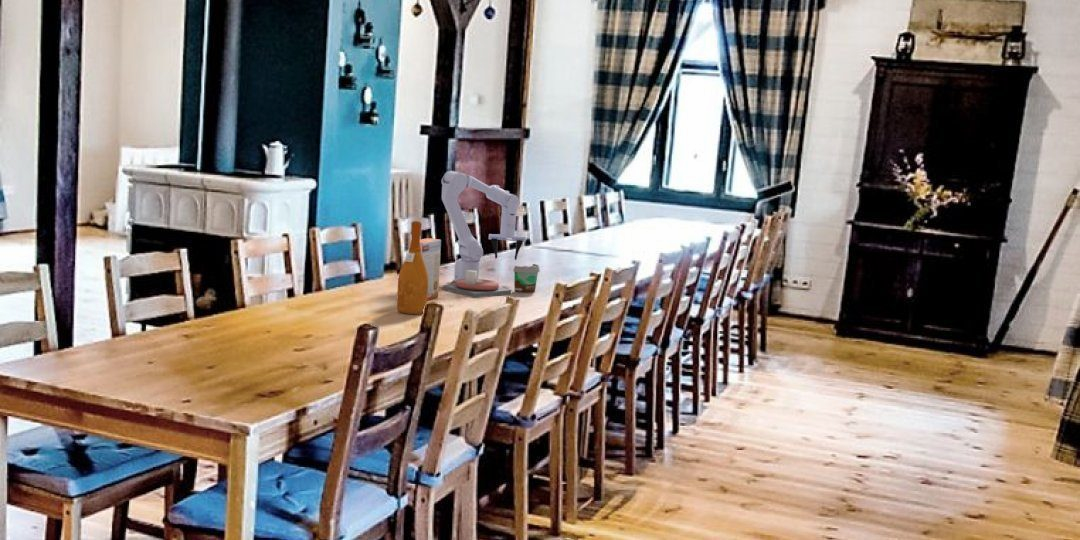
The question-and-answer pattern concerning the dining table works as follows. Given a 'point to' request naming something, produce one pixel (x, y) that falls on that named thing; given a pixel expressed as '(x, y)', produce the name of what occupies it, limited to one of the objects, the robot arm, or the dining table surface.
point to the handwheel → (476, 282)
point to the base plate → (476, 291)
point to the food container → (525, 278)
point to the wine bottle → (413, 277)
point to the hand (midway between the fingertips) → (505, 258)
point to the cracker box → (431, 264)
